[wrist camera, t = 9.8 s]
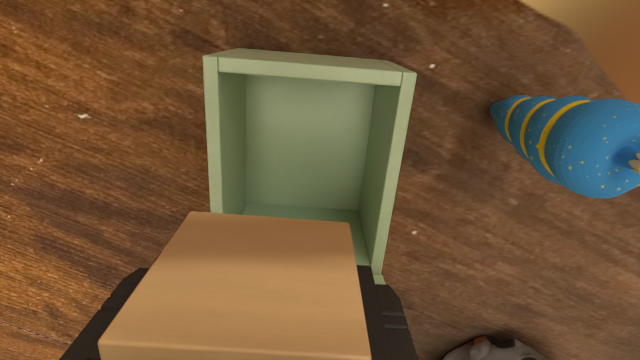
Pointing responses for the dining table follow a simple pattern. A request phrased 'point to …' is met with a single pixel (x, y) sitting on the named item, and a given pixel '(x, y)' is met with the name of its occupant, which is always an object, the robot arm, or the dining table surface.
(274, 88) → the box
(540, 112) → the ornament
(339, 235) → the block
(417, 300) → the dining table surface
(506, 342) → the lucky cat figurine
